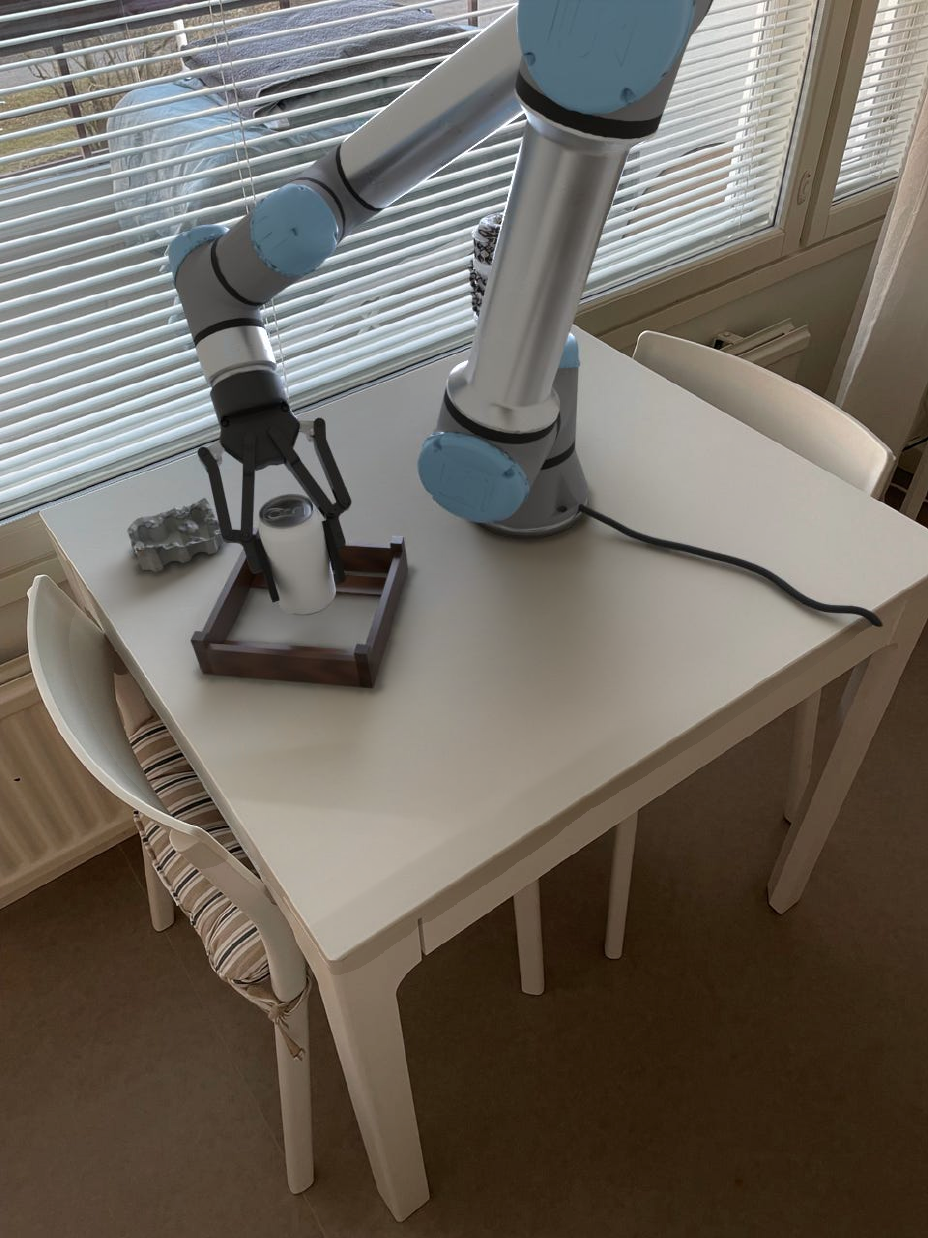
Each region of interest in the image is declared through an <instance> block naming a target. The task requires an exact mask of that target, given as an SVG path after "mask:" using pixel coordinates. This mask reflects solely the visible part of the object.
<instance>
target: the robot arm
mask: <svg viewBox="0 0 928 1238" xmlns="http://www.w3.org/2000/svg"><path fill="white" fill-rule="evenodd" d="M713 3H714V0H518V1H517V3H516V4H514V6H512V7H511V8H509V9H508V10H507V11H505V13H503V14H502V15H501V16H500V17H499V18H497V19H496V20H494V21H493V22H492V23H491V24H489V25H488V26H487V27H485V28H484V29H483V30H482V31H481V32H479V33H478V34H476V35H475V36H474V37H473V38H472V39H470V40H469V41H467V42H466V44H464V45H463V46H461V47H460V48H459V49H457V51H455V52H454V53H453V54H452V55H450V56H448V57H447V58H446V59H445V60H444V61H442V62H440V64H439V65H437V66H436V67H435V68H434V69H432V70H431V71H430V72H429V73H427V74H426V75H425V76H423V77H422V78H421V79H420V80H418V81H417V82H416V83H415V84H413V85H412V86H411V87H409V88H408V89H407V90H405V91H404V92H403V93H402V94H401V95H399V96H398V97H397V98H396V99H394V100H393V101H391V102H390V103H388V105H386V106H385V107H384V108H383V109H382V110H380V111H379V112H377V114H375V115H374V116H373V117H371V118H370V119H369V120H368V121H366V122H365V123H364V124H362V125H361V126H360V127H359V128H357V129H356V130H355V131H354V132H352V133H351V134H350V135H348V136H347V137H346V138H345V139H344V140H343V141H342V142H340V143H338V144H337V145H335V147H333V148H332V149H331V150H329V151H327V152H326V153H325V154H323V155H322V156H320V158H318V159H317V160H315V161H314V162H313V164H311V165H310V166H309V167H308V168H306V169H305V170H303V172H301V173H300V174H299V175H297V176H296V177H295V178H294V179H292V180H290V181H289V182H288V183H287V184H284V185H282V186H280V187H279V188H277V190H273V191H272V192H270V193H269V194H268V195H266V197H264V198H262V199H261V200H260V201H259V202H257V204H256V206H255V207H253V208H252V209H251V210H249V212H248V213H246V214H245V215H244V216H243V217H242V218H240V220H239V221H237V222H236V223H235V224H234V225H233V226H232V227H230V228H228V227H227V226H224V225H220V224H203V225H198V226H197V225H196V226H193V227H192V228H191V229H190V230H188V231H182V232H180V233H179V234H177V235H176V236H175V237H174V238H173V239H172V240H171V242H170V244H169V246H168V251H167V257H168V261H169V265H170V269H171V273H172V277H173V283H172V284H173V286H174V289H175V291H176V293H177V295H178V297H179V301H180V304H181V307H182V310H183V313H184V316H185V319H186V323H187V326H188V329H189V331H190V335H191V338H192V341H193V345H194V348H195V351H196V354H197V357H198V361H199V365H200V367H201V371H202V375H203V377H204V380H205V383H206V385H207V386H208V387H210V388H211V389H210V391H209V398H210V400H211V403H212V406H213V409H214V412H215V415H216V419H217V422H218V425H219V429H220V433H219V438H218V439H219V440H218V441H215V443H212V444H211V445H209V446H207V447H206V446H201V447H199V448H198V449H197V457H198V460H199V462H200V463H201V465H202V467H203V469H204V470H205V471H206V473H207V475H208V479H209V480H208V481H209V485H210V489H211V493H212V499H213V504H214V507H215V512H216V516H217V517H216V519H217V522H218V523H219V527H220V532H221V536H222V539H223V543H225V544H239V545H240V546H242V549H243V548H244V551H245V554H246V557H247V561H248V564H249V567H250V570H251V571H252V573H253V574H256V573H259V572H263V575H264V578H265V581H266V584H267V588H268V589H267V591H268V594H269V598H270V600H271V603H272V604H273V603H276V602H277V603H278V601H279V600H280V598H279V595H278V592H277V588H276V585H275V582H274V579H273V575H272V572H271V569H270V566H269V563H268V559H267V556H266V553H265V550H264V547H263V544H262V541H261V538H259V539H256V540H254V539H253V527H254V515H255V514H254V512H255V511H254V509H255V487H256V486H255V484H256V472H258V471H261V470H264V469H266V468H267V467H271V466H281V465H284V466H285V467H286V469H287V470H288V471H289V472H290V473H291V474H292V476H293V477H294V478H295V481H297V483H298V484H299V485H300V487H301V488H302V490H303V491H304V493H305V494H306V495H307V497H308V498H309V499H310V500H311V501H312V502H313V504H314V507H315V508H316V510H317V511H318V513H319V514H321V516H322V517H323V519H324V520H321V521H322V525H323V530H324V535H325V539H326V544H327V549H328V553H329V557H330V560H331V564H332V567H333V570H332V571H333V574H335V576H336V580H337V583H342V582H345V580H346V579H347V578H346V575H347V574H346V571H344V569H343V565H342V562H341V559H340V556H339V553H338V550H340V549H343V548H345V544H346V541H347V540H346V537H345V535H344V530H343V528H342V525H341V522H340V516H341V515H342V514H343V513H345V512H347V511H348V510H349V509H350V507H351V506H352V498H351V495H350V493H349V491H348V488H347V486H346V483H345V481H344V479H343V477H342V474H341V472H340V469H339V466H338V465H337V461H336V459H335V457H334V454H333V452H332V450H331V447H330V444H329V443H328V440H327V427H326V426H327V425H326V420H325V419H324V418H323V417H317V418H315V419H314V420H299V418H298V417H297V416H296V415H295V414H294V412H293V411H292V409H291V406H290V403H289V401H288V397H287V393H286V391H285V387H284V384H283V381H282V377H281V375H280V374H279V373H278V372H276V370H277V367H278V365H277V361H276V358H275V355H274V351H273V349H272V345H271V342H270V339H269V336H268V333H267V330H266V327H265V323H264V320H263V317H262V313H261V309H260V308H261V307H262V306H264V305H265V304H267V303H269V302H270V301H271V300H272V299H273V298H274V297H276V296H278V295H279V294H280V293H281V292H284V291H285V290H286V289H288V288H289V287H291V286H292V285H293V284H295V283H296V282H298V281H299V280H300V279H302V278H303V277H305V276H308V275H310V274H312V273H313V272H315V271H316V270H317V268H319V267H320V266H321V265H323V264H324V262H325V261H326V260H327V259H329V257H331V256H332V255H333V253H334V252H335V250H336V248H337V246H338V245H339V244H340V243H341V242H342V241H344V239H345V238H347V237H348V236H350V234H351V233H353V232H354V231H355V230H356V229H358V228H359V227H361V226H362V225H363V224H365V223H366V222H368V221H369V220H371V219H372V218H373V217H375V216H376V215H378V214H379V213H381V212H382V211H383V210H384V209H385V208H387V207H389V206H390V205H392V204H393V203H394V202H395V201H397V200H399V199H400V198H401V197H403V196H404V195H406V194H407V193H409V192H411V191H412V190H414V189H415V188H417V187H418V186H419V185H420V184H422V183H424V182H425V181H426V180H428V179H430V178H431V177H432V176H434V175H436V173H438V172H439V171H441V170H443V169H444V168H445V167H447V166H448V165H450V164H452V163H453V162H454V161H456V160H457V159H459V158H460V157H461V156H463V155H464V154H466V153H467V152H469V151H470V150H472V149H473V148H474V147H476V146H477V145H479V144H480V143H482V142H484V141H485V140H487V139H488V138H489V137H491V136H492V135H494V134H495V133H496V132H498V131H500V130H501V129H502V128H504V127H506V126H507V125H509V124H510V123H511V122H513V121H514V120H516V119H517V118H518V117H520V116H522V115H523V114H525V116H526V122H525V126H524V130H523V133H522V138H521V142H520V146H519V150H518V155H517V159H516V162H515V166H514V171H513V175H512V178H511V181H510V182H511V183H510V188H509V191H508V195H507V200H506V202H505V203H506V204H505V208H504V211H503V213H504V215H503V219H502V223H501V227H500V231H499V235H498V240H497V244H496V248H495V252H494V256H493V260H492V264H491V268H490V272H489V276H488V280H487V284H486V289H485V293H484V297H483V301H482V305H481V309H480V313H479V317H478V321H477V323H476V326H475V330H474V334H473V338H472V341H471V346H470V350H469V354H468V358H467V360H465V361H463V362H461V363H460V364H458V365H456V366H455V367H454V368H453V369H452V370H451V371H450V373H449V374H448V377H447V380H446V385H445V389H444V392H443V393H444V394H443V397H442V401H441V404H440V409H439V413H438V419H437V422H436V423H435V427H434V429H433V432H432V433H431V435H430V436H428V437H427V438H426V439H425V440H424V442H423V443H422V446H421V450H420V452H419V455H418V457H417V458H418V459H417V472H418V476H419V480H420V482H421V484H422V486H423V488H424V490H425V491H426V492H428V494H430V495H431V497H432V500H433V501H434V502H435V503H436V504H437V505H438V506H440V507H441V508H442V509H444V510H445V511H447V512H448V513H450V514H451V515H453V516H456V517H458V518H460V519H463V520H466V521H469V522H473V523H478V524H479V525H480V526H482V527H483V528H485V529H486V530H488V531H490V532H492V533H495V534H498V535H502V536H506V537H511V538H519V539H535V538H536V539H537V538H542V537H543V538H544V537H548V536H552V535H556V534H558V533H561V532H563V531H565V530H567V529H569V528H571V527H572V526H574V525H575V524H577V523H578V521H580V520H581V518H582V517H583V516H584V515H587V516H589V517H591V518H592V519H595V520H597V521H598V522H601V523H602V524H605V525H607V526H608V527H610V528H613V530H616V531H617V532H620V533H621V534H623V535H625V536H626V537H627V536H628V537H629V538H632V539H634V540H636V541H639V542H642V543H646V544H649V545H653V546H656V547H660V548H665V549H670V550H675V551H679V552H684V553H687V554H688V553H689V554H692V555H696V556H699V557H703V558H707V559H711V560H715V561H718V562H722V563H726V564H730V565H732V566H736V567H739V568H742V569H745V570H748V571H750V572H752V573H755V574H757V575H759V576H761V577H763V578H764V579H767V580H768V581H770V582H772V583H773V584H774V585H775V586H777V587H778V588H780V589H781V590H782V591H783V592H785V593H786V594H787V595H788V596H790V597H791V598H792V599H794V600H796V602H799V603H801V604H803V605H804V606H806V607H808V608H810V609H813V610H816V611H819V612H823V613H828V614H829V613H830V614H845V615H846V614H847V615H856V616H861V617H863V618H865V619H866V620H867V621H869V622H870V623H871V625H873V626H874V627H877V628H882V627H883V626H884V624H883V622H882V620H881V619H880V618H879V617H878V616H877V615H876V614H875V613H874V612H872V611H871V610H869V609H867V608H865V607H861V606H857V605H848V604H847V605H846V604H845V605H843V604H829V603H823V602H819V601H817V600H814V599H812V598H811V597H809V596H806V595H805V594H803V593H801V592H800V591H799V590H797V589H796V588H794V587H793V586H791V584H790V583H788V582H787V581H786V580H784V579H783V578H781V577H780V576H779V575H778V574H776V573H774V572H772V571H771V570H769V569H768V568H767V569H766V568H765V567H763V566H761V565H759V564H756V563H753V562H751V561H748V560H745V559H743V558H739V557H736V556H733V555H729V554H725V553H721V552H716V551H714V550H708V549H705V548H702V547H698V546H694V545H689V544H686V543H681V542H677V541H672V540H666V539H663V538H658V537H655V536H651V535H647V534H644V533H642V532H639V531H636V530H634V529H632V528H630V527H628V526H626V525H624V524H623V523H620V522H618V521H617V520H615V519H613V518H612V517H609V516H607V515H605V514H603V513H601V512H599V511H597V510H595V509H593V508H591V507H590V506H588V501H589V489H588V483H587V482H588V481H587V479H586V475H585V473H584V470H583V467H582V465H581V464H582V463H581V462H580V458H579V456H578V452H577V449H576V436H577V416H578V415H577V414H578V391H579V370H580V369H579V368H580V366H581V360H580V355H579V353H580V352H579V351H580V350H579V343H578V340H577V338H576V337H575V336H574V335H573V334H572V333H571V330H572V326H573V323H574V321H575V317H576V315H577V310H578V308H579V305H580V303H581V300H582V297H583V293H584V292H585V291H584V290H585V288H586V285H587V281H588V279H589V276H590V272H591V270H592V266H593V263H594V261H595V257H596V254H597V251H598V248H599V245H600V242H601V239H602V236H603V233H604V230H605V227H606V224H607V221H608V218H609V215H610V212H611V209H612V206H613V204H614V200H615V197H616V195H617V191H618V188H619V186H620V182H621V179H622V175H623V173H624V171H625V167H626V164H627V161H628V157H629V155H630V152H631V150H632V149H634V148H635V147H637V146H639V145H641V144H643V143H644V142H647V141H648V140H650V139H651V138H653V137H654V136H655V135H656V134H657V131H658V129H659V126H660V124H661V121H662V118H663V116H664V112H665V111H666V107H667V104H668V101H669V98H670V96H671V92H672V89H673V88H674V87H673V86H674V84H675V81H676V79H677V75H678V72H679V70H680V67H681V64H682V61H683V58H684V56H685V53H686V50H687V48H688V46H689V42H690V41H691V38H692V36H693V35H694V33H695V32H696V31H697V29H698V28H699V26H700V25H701V24H702V22H703V21H704V19H705V18H706V16H707V15H708V13H709V11H710V10H711V7H712V5H713ZM299 433H302V434H304V435H305V436H304V437H305V438H306V440H307V441H308V443H313V448H314V452H315V454H316V456H317V458H318V459H317V460H318V461H319V464H320V467H321V469H322V471H323V473H324V476H325V478H326V480H327V483H328V485H329V488H330V490H331V493H332V495H333V498H334V500H335V502H334V503H333V502H332V501H331V500H330V498H329V497H328V495H326V493H325V492H324V490H323V488H321V486H320V485H319V483H318V481H316V479H315V478H314V477H313V475H312V474H311V472H310V471H309V469H308V468H307V467H306V465H305V464H304V463H303V461H302V460H301V457H300V456H299V454H298V453H297V451H296V450H295V449H294V447H295V444H296V442H297V439H298V436H299ZM224 452H225V453H227V454H228V455H230V456H231V457H232V458H233V459H235V460H236V461H237V462H239V463H240V464H242V479H241V481H242V482H241V483H242V484H241V509H240V529H233V525H232V521H231V516H230V512H229V507H228V502H227V497H226V493H225V488H224V484H223V479H222V474H221V469H220V466H222V465H223V457H222V456H223V453H224Z"/></svg>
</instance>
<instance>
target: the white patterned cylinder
mask: <svg viewBox="0 0 928 1238" xmlns="http://www.w3.org/2000/svg"><path fill="white" fill-rule="evenodd" d="M503 215H504V212H495V213H492V214H488V215H486V216H484V217H483V218H482V219H480V221H479V223H478V225H477V226H476V225H475V227H473V228H472V231H470V234H471V236H472V240H473V243H472V244H473V254H472V258H471V259H470V260H469V261H470V262H469V263H470V264H468V267H467V270H468V271H469V277H468V280H469V281H470V282H469V285H470V287H471V288H472V289H471V290H470V296H471V306H472V308H471V309H472V312H474V313H473V316H472V319H473V320H474V323H475V324H477V321H478V317H479V313H480V309H481V305H482V301H483V297H484V293H485V289H486V284H487V280H488V276H489V272H490V268H491V264H492V260H493V256H494V252H495V248H496V244H497V240H498V235H499V231H500V227H501V223H502V219H503Z"/></svg>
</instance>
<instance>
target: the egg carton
mask: <svg viewBox="0 0 928 1238" xmlns="http://www.w3.org/2000/svg"><path fill="white" fill-rule="evenodd" d="M126 531H127V534H128V539H129V541H130V542H131V550H132V553H133V554H136V556H137V558H138V560H139V563H140V566H141V569H142V571H147V570H149V571H153V572H161V571H163V570H164V567H165V566H166V565H167V564H169V563H171V562H179V563H182V564H184V563H186V562H189V561H191V560H192V558H193V556H194V555H196V554H197V553H207V554H208V555H212V554H216V553H217V552H218V549H219V547H221V546H222V545H223V544H224V541H223V539H222V536H221V532H220V527H219V522H218V518H217V517H216V515H215V512H214V510H213V509H212V507H211V505H210V502H209V501H208V499H207V498H206V497H203V498H202V499H200V500H198V501H196V502H193V503H191V505H188V506H186V505H183V506H182V507H181V508H178V507H173V508H172V509H170V510H167V511H163V512H160V513H158V514H155V515H150V516H149V515H148V516H141V517H138V518H136V519H135V520H134V521H132V523H131V524H130V525H129V526H128V528H127V530H126Z"/></svg>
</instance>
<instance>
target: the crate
mask: <svg viewBox="0 0 928 1238" xmlns="http://www.w3.org/2000/svg"><path fill="white" fill-rule="evenodd" d="M259 538H260V534H259V529H258V527H254V526H253V539H254V540H256V539H259ZM345 541H346V544H345V548H343V549H340V550H338V553H339V556H340V559H341V562H342V565H343V569H344V572H353V573H368V574H370V573H371V574H382V575H383V574H384V575H387V576H386V577H385V576H372V575H371V576H370V575H357V574H356V575H355V574H345V575H346V578H347V579H346V580H345V582H342V583H337V580H336V576H335V573H333V578H334V583H335V588H336V594H335V595H348V596H364V597H377V598H379V602H378V605H377V607H376V611H375V613H374V617H373V619H372V623H371V626H370V630H369V632H368V636H367V639H366V642H365V643H356V644H355V648H354V649H345V648H344V649H343V648H333V647H318V646H307V645H293V644H281V643H268V642H257V641H256V642H253V641H244V640H243V641H242V640H232V639H231V640H229V639H228V638H229V636H230V633H231V631H232V629H233V627H234V625H235V623H236V620H237V618H238V617H239V614H240V612H241V610H242V608H243V606H244V603H245V601H246V599H247V598H248V595H249V593H250V591H251V589H263V590H268V588H267V584H266V581H265V578H264V575H263V572H259V573H256V574H253V573H252V571H251V570H250V567H249V564H248V561H247V557H246V554H245V551H244V548H243V547H242V551H240V554H239V557H238V558H237V561H236V562H235V565H234V566H233V568H232V569H231V570H232V571H230V574H229V576H228V578H227V580H226V582H225V584H224V586H223V588H222V591H221V592H220V594H219V597H217V600H216V602H215V604H214V606H213V608H212V610H211V612H210V614H209V616H208V618H207V620H206V621H205V624H204V625H203V628H202V630H201V631H200V630H195V631H194V632H193V634H192V636H191V638H190V644H191V646H192V649H193V651H194V654H195V657H196V661H197V662H198V665H199V668H200V671H201V674H202V675H209V676H220V677H221V676H222V677H223V676H224V677H236V678H244V679H245V678H248V679H260V680H269V681H270V680H271V681H282V682H294V683H303V684H305V683H306V684H315V685H316V684H317V685H329V686H339V687H340V686H342V687H351V688H352V687H353V688H363V689H364V688H365V689H374V686H375V684H376V679H377V676H378V674H379V669H380V667H381V666H380V665H381V663H382V659H383V656H384V653H385V650H386V646H387V643H388V639H389V636H390V631H391V628H392V626H393V622H394V619H395V616H396V612H397V610H398V606H399V602H400V599H401V595H402V593H403V589H404V586H405V582H406V579H407V575H408V572H409V567H408V558H407V557H408V556H407V549H406V548H407V547H406V539H405V536H404V535H403V536H402V535H392V536H391V538H390V541H389V543H387V542H369V541H356V540H355V541H354V540H345ZM329 558H330V557H329ZM330 563H331V560H330ZM331 568H332V571H334V570H333V567H332V564H331Z"/></svg>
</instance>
